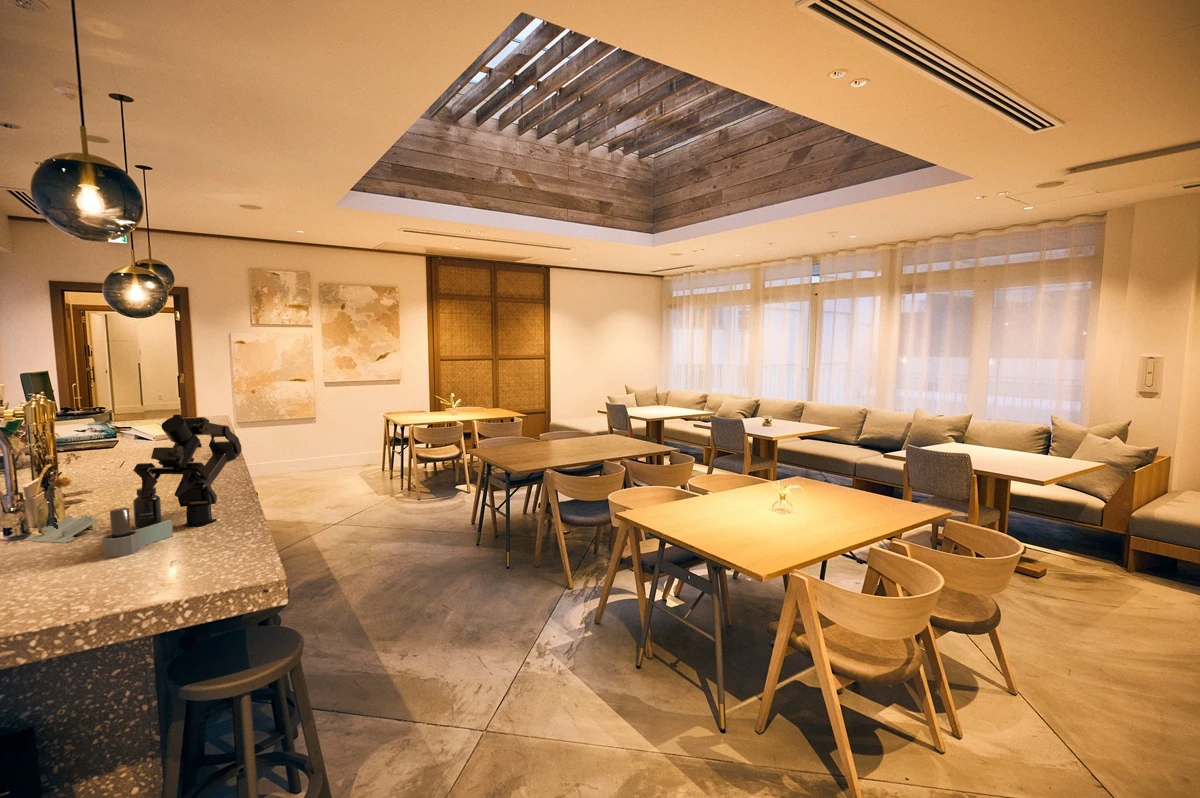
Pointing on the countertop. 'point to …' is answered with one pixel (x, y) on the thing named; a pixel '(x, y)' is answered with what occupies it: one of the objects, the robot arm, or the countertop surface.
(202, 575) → the countertop surface
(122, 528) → the hinge pin
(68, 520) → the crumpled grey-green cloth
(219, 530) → the countertop surface
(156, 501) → the supplement bottle
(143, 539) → the grey forked piece
